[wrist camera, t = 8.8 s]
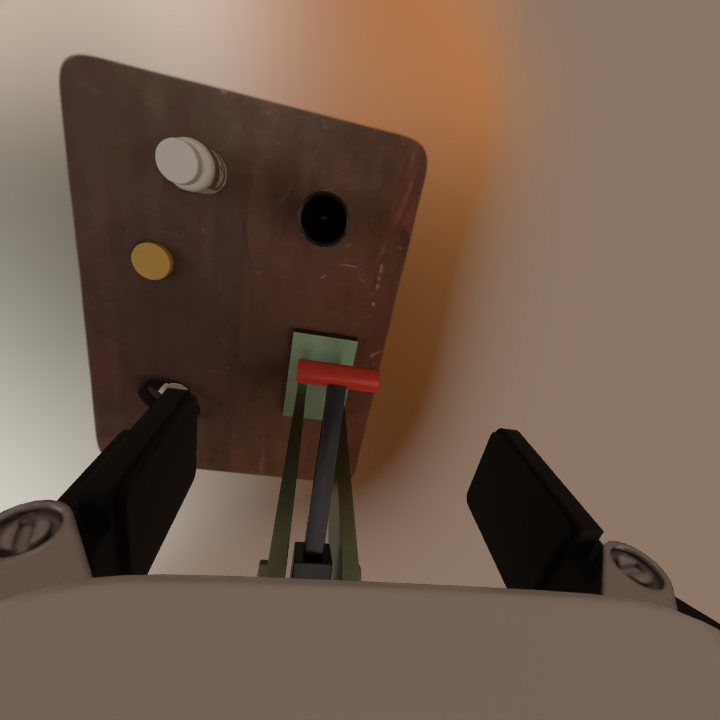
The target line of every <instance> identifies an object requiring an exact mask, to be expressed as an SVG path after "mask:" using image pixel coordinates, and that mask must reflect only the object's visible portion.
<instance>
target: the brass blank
mask: <svg viewBox="0 0 720 720" xmlns="http://www.w3.org/2000/svg"><path fill="white" fill-rule="evenodd" d="M131 259H132V264H133V266H134V268H135V269H136V271H137V272H138V273H139V274H140V275H142V276H143V277H145V278H147V279H151V280H159V279H162V278H164V277H167V276H168V275H169V274H170V273H171V272H172V270H173V265H174V262H173V258H172V255H171V254H170V252H169V251H168V250H167V249H166V248H165V247H164V246H163V245H161V244H159V243H156V242H145V243H141V244H139V245H137V246H136V247H135V248H134V250H133V252H132V256H131Z"/></svg>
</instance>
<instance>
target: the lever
mask: <svg viewBox="0 0 720 720" xmlns="http://www.w3.org/2000/svg"><path fill="white" fill-rule="evenodd" d="M380 377H381V376H380V371H379V370H375V369H368V368H362V367H355V366H348V365H341V364H334V363H327V362H320V361H313V360H306V359H299V361H298V367H297V374H296V382H298V383H305V384H312V385H320V386H327V391H326V398H325V405H324V412H323V419H322V426H321V433H320V440H319V447H318V453H317V460H316V467H315V474H314V481H313V488H312V495H311V502H310V510H309V516H308V523H307V530H306V537H305V542H295V545H294V553H293V560H292V567H291V573H290V578H295V579H319V580H331V573H332V566H333V564H332V557H331V550H330V544H325V537H326V529H327V522H328V515H329V508H330V501H331V494H332V487H333V480H334V473H335V466H336V459H337V452H338V445H339V438H340V431H341V424H342V417H343V410H344V403H345V396H346V389H350V390H357V391H365V392H372V393H376V392H377V391H378V389H379V386H380Z"/></svg>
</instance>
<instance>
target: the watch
mask: <svg viewBox="0 0 720 720" xmlns="http://www.w3.org/2000/svg"><path fill="white" fill-rule="evenodd" d="M147 387H151V388H154V389H156V390H157V391H158V392H160V393H161V394H162V393H163V392H164V391H165V390H166V389H167V388H176V389H184V390H187V388H185V387H184V386H183V385H181V384H177V383H170V384H168V383H164V382H162V381H160V380H156V379H150V380H148V381H146V382H145V383H144V384H143V385H142V386H140V387H139V389H138V394H139V397H140V398H141V400H142V401H143V402H144V403H145V404H146V405H147V406H148V407H151V406H152V405H153V403H154V402H155V401H156V400H157V399H156V398H155V397H154V396H153V395H152V394H151V393H150V392H149V391H148V389H147ZM199 413H200V407H199V406H198V405H197V417H198V415H199Z"/></svg>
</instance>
